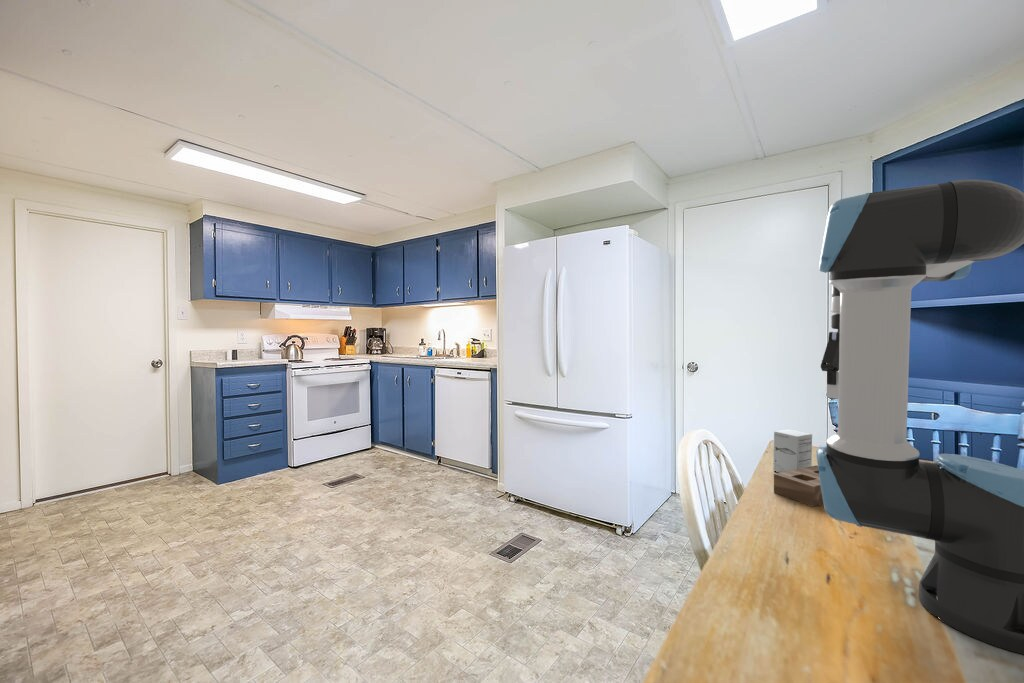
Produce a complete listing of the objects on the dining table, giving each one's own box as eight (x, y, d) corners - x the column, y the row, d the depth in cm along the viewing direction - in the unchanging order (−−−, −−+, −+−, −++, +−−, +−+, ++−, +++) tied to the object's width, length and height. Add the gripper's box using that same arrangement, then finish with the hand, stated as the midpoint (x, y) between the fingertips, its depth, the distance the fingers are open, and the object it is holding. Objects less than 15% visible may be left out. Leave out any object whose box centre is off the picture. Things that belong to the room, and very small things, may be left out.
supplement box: (772, 471, 129) (772, 430, 128) (787, 468, 132) (787, 428, 132) (797, 479, 122) (797, 436, 122) (812, 475, 125) (813, 433, 125)
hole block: (813, 506, 102) (813, 486, 102) (773, 492, 112) (774, 473, 112) (856, 495, 110) (856, 476, 109) (816, 482, 119) (816, 465, 119)
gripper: (838, 310, 97) (837, 401, 97) (894, 314, 108) (893, 396, 107) (804, 312, 104) (803, 397, 104) (860, 316, 114) (859, 393, 114)
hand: (849, 397), depth 106 cm, fingers open, 13 cm apart
